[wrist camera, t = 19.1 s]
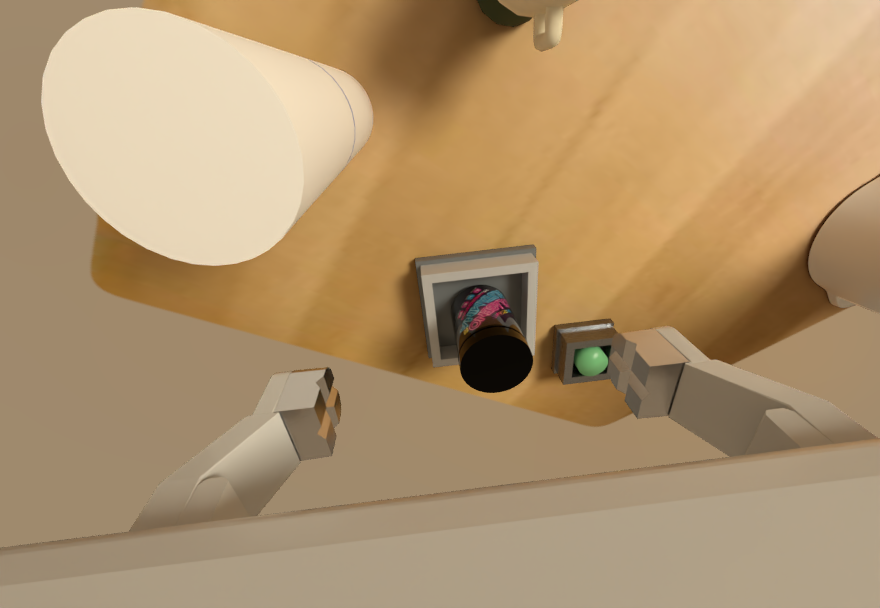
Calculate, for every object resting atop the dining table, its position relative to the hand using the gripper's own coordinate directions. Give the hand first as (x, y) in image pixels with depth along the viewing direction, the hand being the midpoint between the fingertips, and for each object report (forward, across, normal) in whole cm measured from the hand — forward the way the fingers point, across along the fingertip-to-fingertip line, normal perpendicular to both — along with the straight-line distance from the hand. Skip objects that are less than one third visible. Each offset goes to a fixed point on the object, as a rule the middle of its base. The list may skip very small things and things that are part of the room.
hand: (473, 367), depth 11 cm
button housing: (+29, -17, +23) cm, 41 cm away
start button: (+27, -17, +23) cm, 40 cm away
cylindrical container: (+29, +8, -6) cm, 31 cm away
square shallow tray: (+29, -4, +15) cm, 33 cm away
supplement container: (+28, -4, +15) cm, 32 cm away
